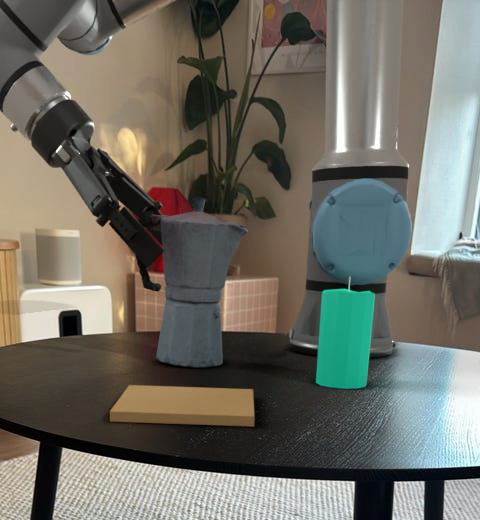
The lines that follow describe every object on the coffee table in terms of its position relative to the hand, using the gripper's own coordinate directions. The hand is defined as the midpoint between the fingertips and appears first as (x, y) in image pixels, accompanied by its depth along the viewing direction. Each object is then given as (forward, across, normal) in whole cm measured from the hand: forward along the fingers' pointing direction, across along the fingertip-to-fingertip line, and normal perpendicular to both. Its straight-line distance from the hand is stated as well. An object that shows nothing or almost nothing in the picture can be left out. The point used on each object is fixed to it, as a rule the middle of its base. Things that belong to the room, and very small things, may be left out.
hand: (171, 257), depth 94 cm
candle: (+25, +8, +7) cm, 27 cm away
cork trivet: (+15, +26, -3) cm, 30 cm away
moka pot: (+11, 0, -8) cm, 13 cm away
